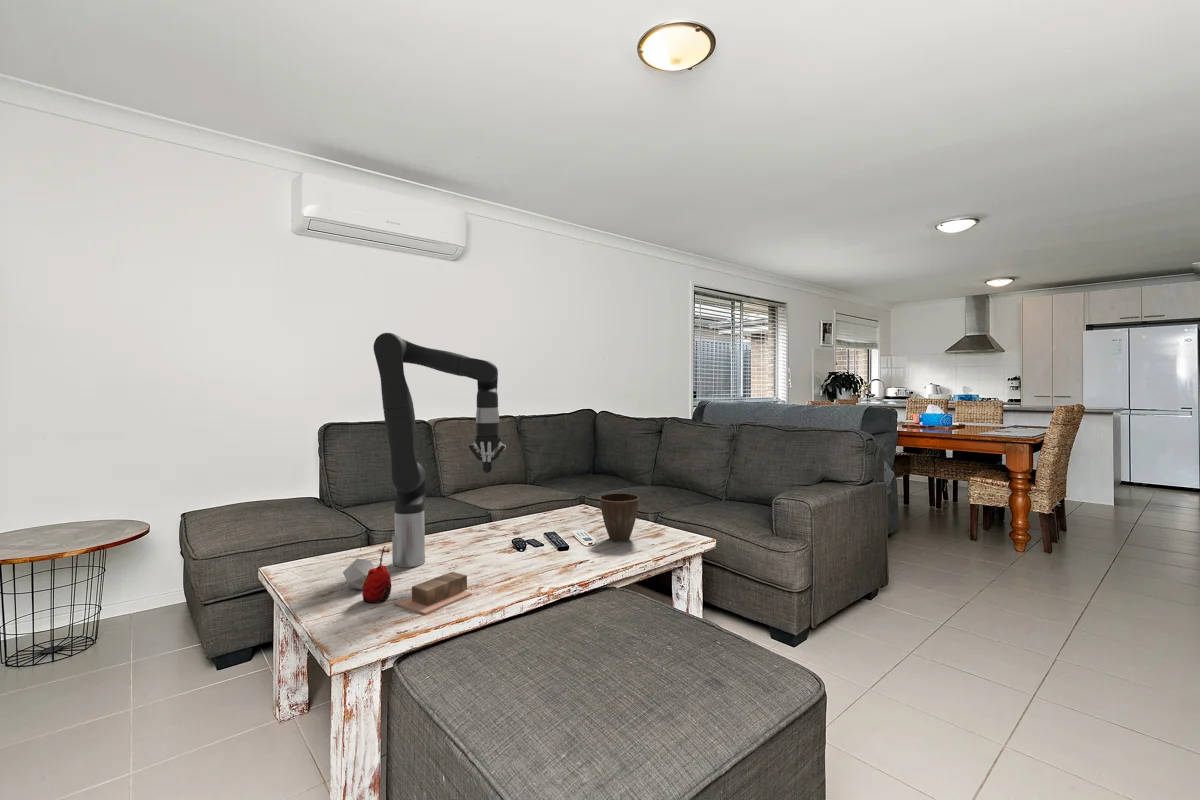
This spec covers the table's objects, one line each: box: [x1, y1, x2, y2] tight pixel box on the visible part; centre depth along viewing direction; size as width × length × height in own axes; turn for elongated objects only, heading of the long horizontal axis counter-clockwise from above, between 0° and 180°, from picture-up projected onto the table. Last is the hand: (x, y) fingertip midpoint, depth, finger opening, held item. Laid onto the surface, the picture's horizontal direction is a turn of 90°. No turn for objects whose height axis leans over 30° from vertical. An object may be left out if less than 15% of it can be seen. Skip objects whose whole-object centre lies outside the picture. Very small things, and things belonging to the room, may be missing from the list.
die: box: [342, 558, 375, 591], centre depth 159 cm, size 8×9×10 cm
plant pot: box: [599, 492, 640, 542], centre depth 208 cm, size 15×15×16 cm
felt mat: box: [394, 590, 473, 616], centre depth 150 cm, size 16×12×1 cm
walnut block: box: [411, 571, 468, 606], centre depth 151 cm, size 4×6×14 cm
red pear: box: [361, 545, 392, 604], centre depth 150 cm, size 8×7×15 cm
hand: (488, 472), depth 184 cm, fingers closed
